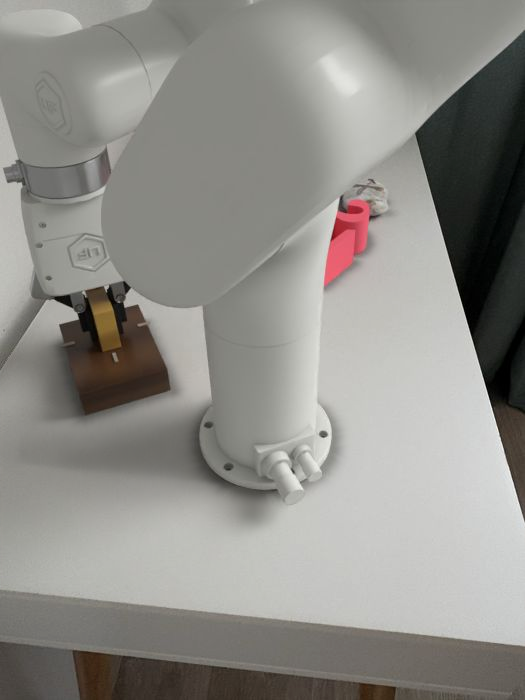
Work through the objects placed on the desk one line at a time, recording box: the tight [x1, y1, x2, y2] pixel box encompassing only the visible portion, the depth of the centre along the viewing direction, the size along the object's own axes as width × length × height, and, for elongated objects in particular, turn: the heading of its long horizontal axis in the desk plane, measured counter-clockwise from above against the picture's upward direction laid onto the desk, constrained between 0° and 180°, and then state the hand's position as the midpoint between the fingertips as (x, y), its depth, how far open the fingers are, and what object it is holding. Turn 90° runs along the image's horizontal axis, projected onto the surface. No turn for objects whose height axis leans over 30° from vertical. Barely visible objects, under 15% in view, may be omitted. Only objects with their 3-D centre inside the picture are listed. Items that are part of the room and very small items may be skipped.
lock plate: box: [58, 304, 172, 416], centre depth 68 cm, size 13×10×3 cm
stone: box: [341, 178, 390, 217], centre depth 94 cm, size 10×7×3 cm
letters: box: [324, 199, 370, 287], centre depth 83 cm, size 14×10×5 cm
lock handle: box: [84, 286, 121, 352], centre depth 66 cm, size 6×2×5 cm, turn 23°
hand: (105, 329), depth 68 cm, fingers closed on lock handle, 2 cm apart
